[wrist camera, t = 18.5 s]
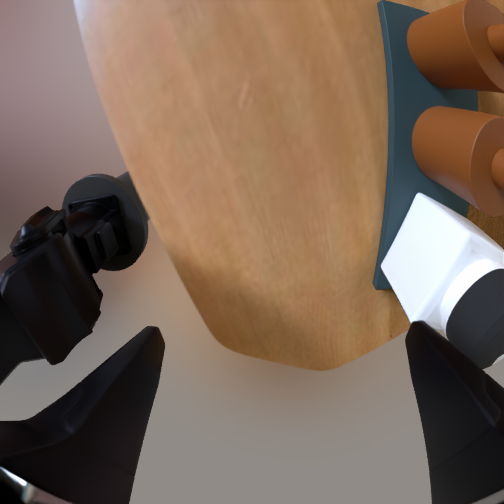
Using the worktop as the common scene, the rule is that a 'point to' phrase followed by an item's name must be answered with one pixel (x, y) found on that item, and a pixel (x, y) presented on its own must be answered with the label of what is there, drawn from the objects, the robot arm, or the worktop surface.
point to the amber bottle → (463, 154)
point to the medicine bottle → (450, 278)
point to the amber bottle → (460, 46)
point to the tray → (409, 128)
